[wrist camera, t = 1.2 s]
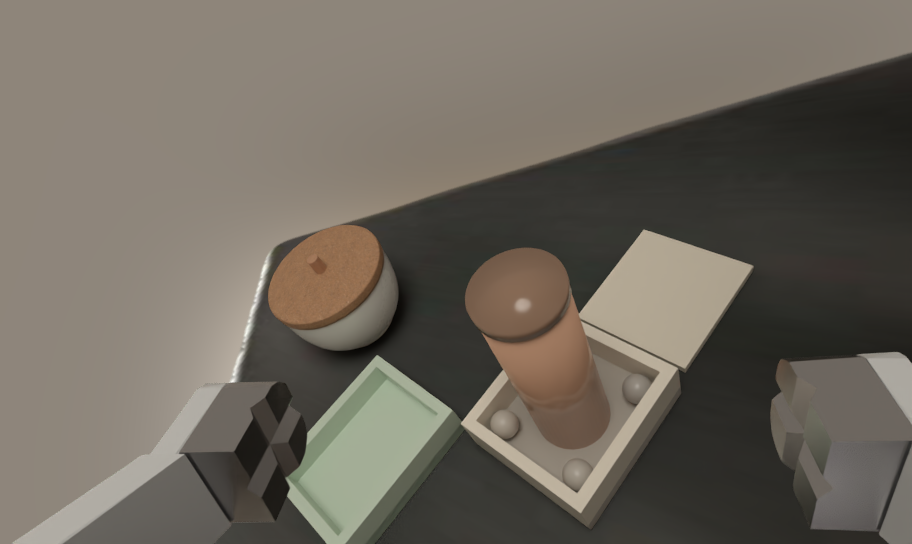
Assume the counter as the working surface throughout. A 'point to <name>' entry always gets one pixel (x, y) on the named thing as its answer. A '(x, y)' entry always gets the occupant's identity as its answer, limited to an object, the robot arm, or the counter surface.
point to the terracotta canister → (540, 344)
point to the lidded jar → (336, 289)
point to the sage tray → (370, 455)
